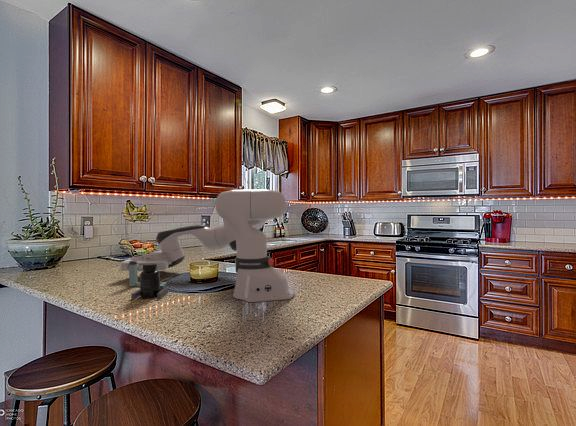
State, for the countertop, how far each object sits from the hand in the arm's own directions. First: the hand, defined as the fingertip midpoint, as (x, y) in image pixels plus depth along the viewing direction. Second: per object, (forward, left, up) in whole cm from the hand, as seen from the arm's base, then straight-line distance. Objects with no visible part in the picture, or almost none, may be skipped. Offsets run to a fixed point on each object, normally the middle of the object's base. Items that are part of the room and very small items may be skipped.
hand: (138, 268), depth 140 cm
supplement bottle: (-13, +21, -7) cm, 25 cm away
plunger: (-8, +10, -6) cm, 14 cm away
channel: (-13, +21, -6) cm, 25 cm away
